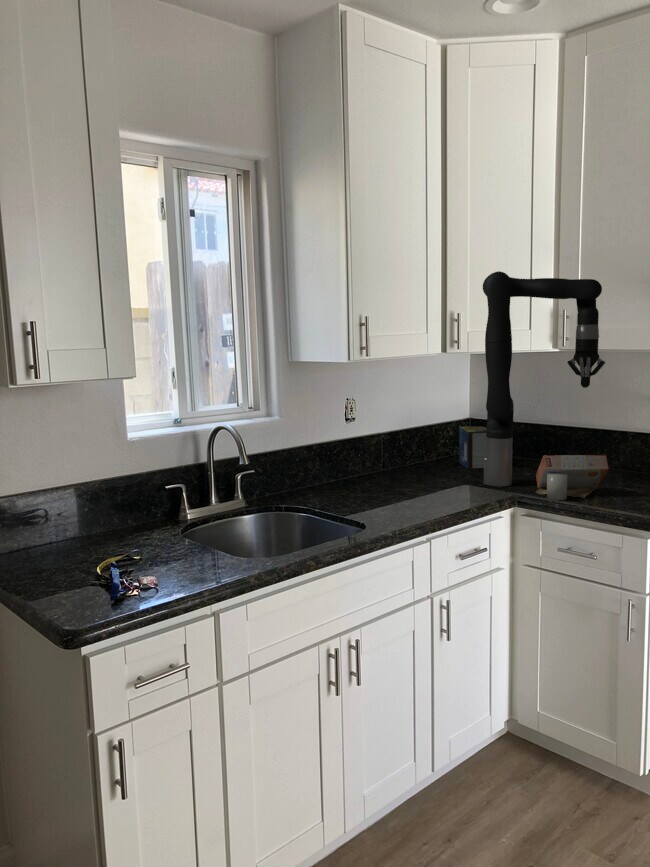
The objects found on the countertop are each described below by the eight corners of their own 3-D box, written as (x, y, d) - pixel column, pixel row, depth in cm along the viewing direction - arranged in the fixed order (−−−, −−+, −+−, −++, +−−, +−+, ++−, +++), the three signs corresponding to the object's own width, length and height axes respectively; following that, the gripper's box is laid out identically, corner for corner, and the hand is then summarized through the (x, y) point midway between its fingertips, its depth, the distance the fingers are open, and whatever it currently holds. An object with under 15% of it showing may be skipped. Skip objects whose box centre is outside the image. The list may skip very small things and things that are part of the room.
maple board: (535, 493, 245) (535, 491, 245) (549, 484, 260) (549, 481, 260) (584, 498, 236) (584, 496, 236) (596, 488, 252) (596, 486, 251)
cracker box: (606, 453, 239) (542, 454, 241) (610, 469, 236) (545, 470, 238) (595, 473, 251) (534, 473, 253) (598, 488, 248) (537, 489, 250)
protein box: (482, 462, 308) (483, 426, 305) (492, 468, 292) (493, 430, 290) (458, 462, 307) (458, 426, 305) (467, 469, 292) (467, 431, 290)
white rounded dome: (544, 499, 236) (544, 475, 235) (549, 495, 242) (550, 472, 241) (564, 501, 233) (564, 477, 232) (569, 497, 238) (569, 473, 237)
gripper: (564, 338, 252) (563, 387, 254) (604, 337, 245) (602, 388, 247) (570, 338, 258) (568, 386, 261) (609, 337, 251) (607, 387, 254)
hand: (585, 387), depth 254 cm, fingers closed
